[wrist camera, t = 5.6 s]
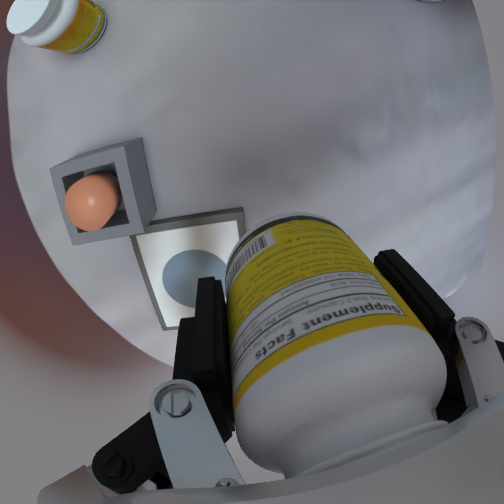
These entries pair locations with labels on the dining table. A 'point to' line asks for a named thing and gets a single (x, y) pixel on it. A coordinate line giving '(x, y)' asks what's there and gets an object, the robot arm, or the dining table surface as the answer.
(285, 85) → the dining table surface
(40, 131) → the dining table surface
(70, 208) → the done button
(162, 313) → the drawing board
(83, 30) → the supplement bottle
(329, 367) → the supplement bottle
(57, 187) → the button housing
